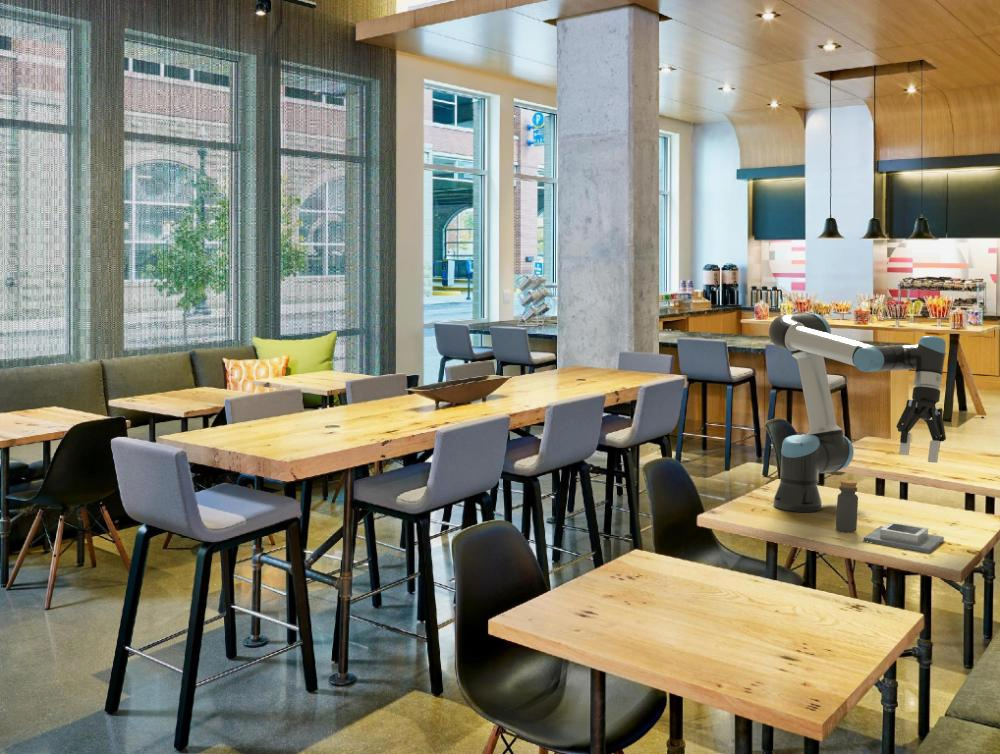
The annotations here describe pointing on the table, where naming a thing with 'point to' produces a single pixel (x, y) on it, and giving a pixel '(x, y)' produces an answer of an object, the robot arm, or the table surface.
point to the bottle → (847, 507)
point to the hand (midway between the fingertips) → (918, 458)
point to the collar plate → (904, 537)
